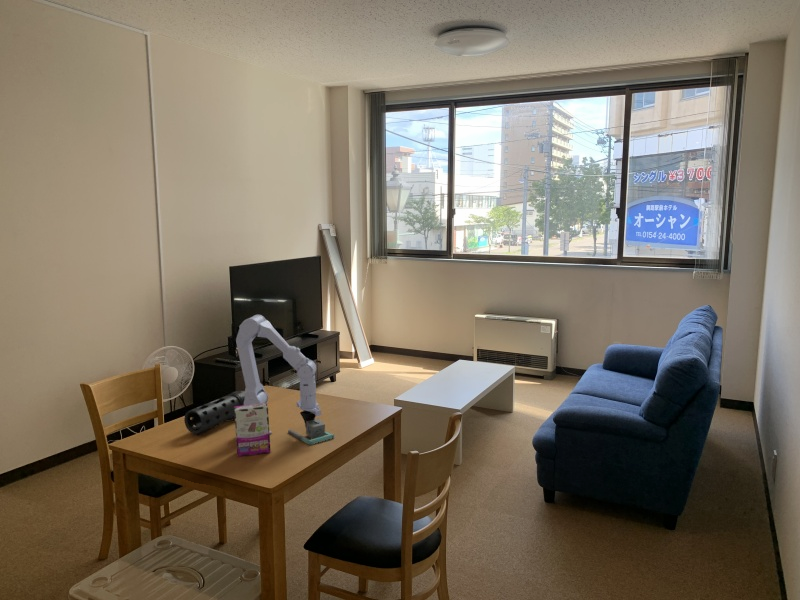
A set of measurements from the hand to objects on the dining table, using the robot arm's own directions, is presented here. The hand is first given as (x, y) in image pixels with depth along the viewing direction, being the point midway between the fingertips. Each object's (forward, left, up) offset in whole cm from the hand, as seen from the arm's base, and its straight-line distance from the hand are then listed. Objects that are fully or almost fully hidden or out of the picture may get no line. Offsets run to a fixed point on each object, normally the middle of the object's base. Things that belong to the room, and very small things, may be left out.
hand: (309, 429), depth 220 cm
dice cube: (+1, -3, -2) cm, 3 cm away
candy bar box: (-23, -2, -2) cm, 23 cm away
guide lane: (0, -1, -2) cm, 2 cm away
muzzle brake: (-21, +32, -2) cm, 39 cm away
